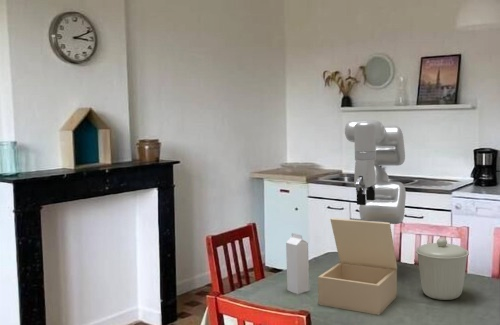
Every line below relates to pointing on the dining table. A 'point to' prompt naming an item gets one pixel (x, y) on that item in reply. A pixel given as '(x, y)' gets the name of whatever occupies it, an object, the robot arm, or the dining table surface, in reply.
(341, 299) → the carton
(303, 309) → the dining table surface
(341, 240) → the carton lid
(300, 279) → the milk
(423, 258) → the canister
